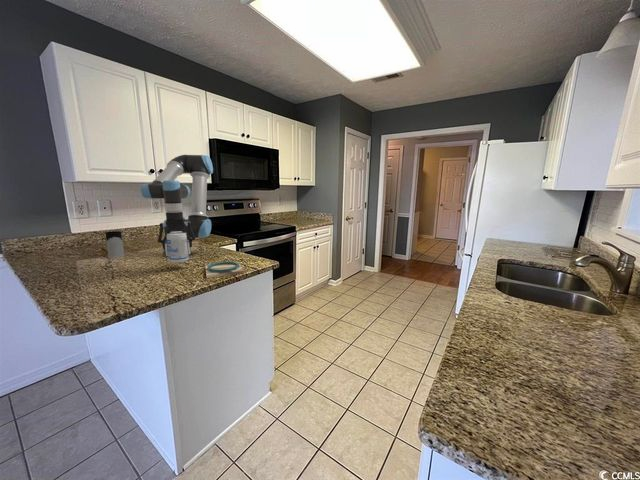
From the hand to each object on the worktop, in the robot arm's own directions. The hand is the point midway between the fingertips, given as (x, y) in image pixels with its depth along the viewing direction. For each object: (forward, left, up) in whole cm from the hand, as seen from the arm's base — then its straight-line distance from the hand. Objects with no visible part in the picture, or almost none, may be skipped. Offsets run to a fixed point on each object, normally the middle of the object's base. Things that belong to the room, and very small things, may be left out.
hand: (178, 254), depth 137 cm
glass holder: (-44, -37, -8) cm, 58 cm away
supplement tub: (0, 0, -3) cm, 3 cm away
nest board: (+13, +21, -7) cm, 26 cm away
